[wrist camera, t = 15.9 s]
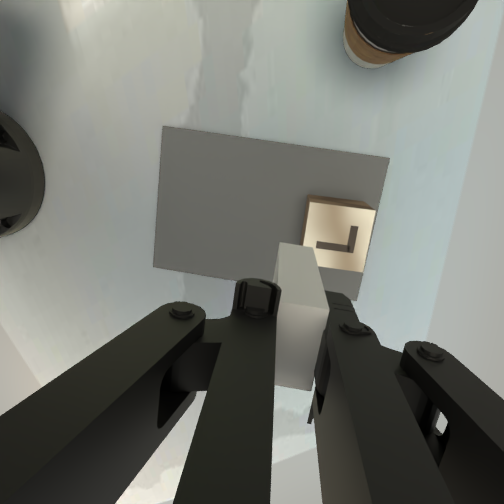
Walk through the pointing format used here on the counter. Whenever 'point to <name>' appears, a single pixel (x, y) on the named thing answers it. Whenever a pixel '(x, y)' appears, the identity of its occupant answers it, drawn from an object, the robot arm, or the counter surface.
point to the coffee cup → (399, 27)
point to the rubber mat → (250, 202)
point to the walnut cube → (338, 231)
